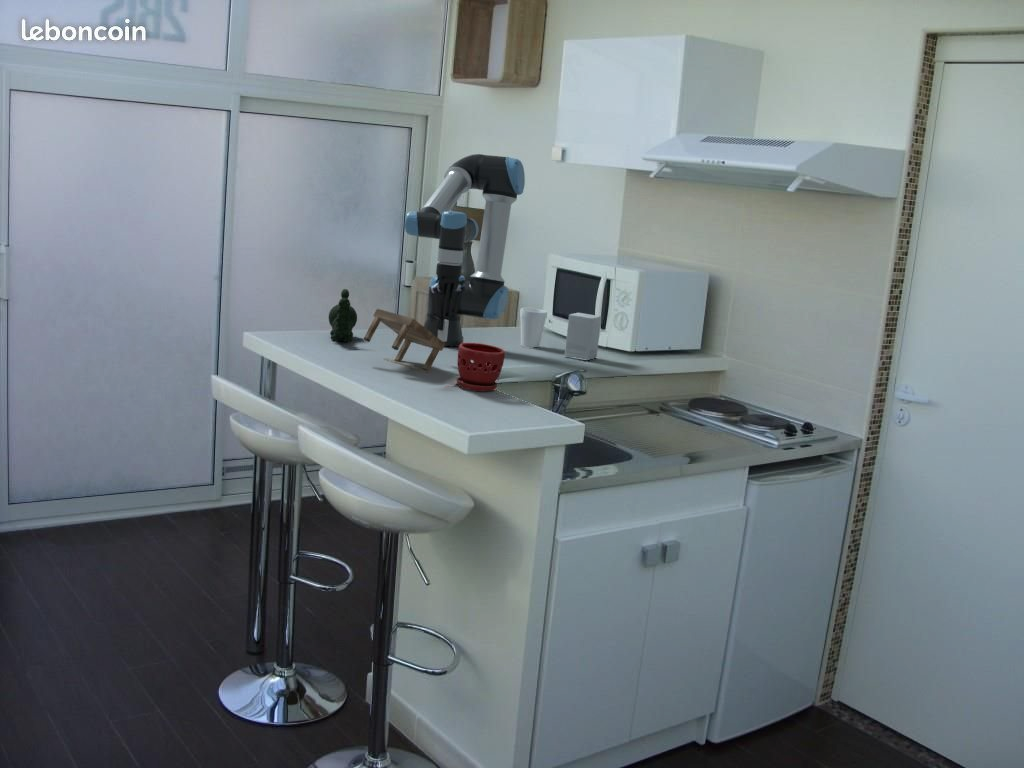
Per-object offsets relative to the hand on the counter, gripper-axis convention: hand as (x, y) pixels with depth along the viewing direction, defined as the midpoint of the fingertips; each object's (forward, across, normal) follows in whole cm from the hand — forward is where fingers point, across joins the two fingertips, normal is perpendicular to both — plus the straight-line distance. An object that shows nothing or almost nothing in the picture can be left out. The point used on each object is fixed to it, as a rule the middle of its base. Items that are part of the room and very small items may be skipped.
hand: (441, 340), depth 336 cm
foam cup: (+8, -58, -16) cm, 61 cm away
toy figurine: (+8, +4, -44) cm, 45 cm away
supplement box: (+8, -62, +5) cm, 62 cm away
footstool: (+3, +9, 0) cm, 9 cm away
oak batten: (+8, +14, 0) cm, 16 cm away
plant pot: (+8, +10, +27) cm, 30 cm away
